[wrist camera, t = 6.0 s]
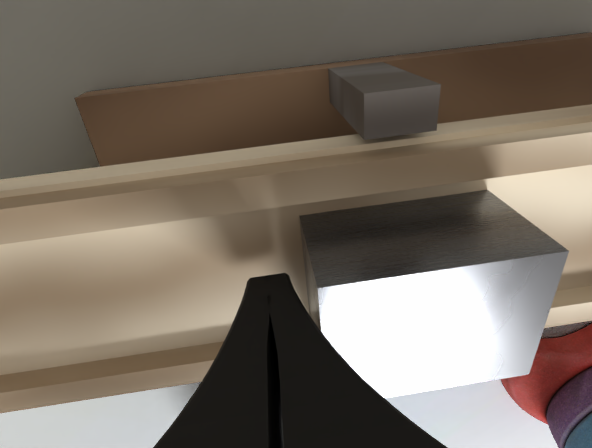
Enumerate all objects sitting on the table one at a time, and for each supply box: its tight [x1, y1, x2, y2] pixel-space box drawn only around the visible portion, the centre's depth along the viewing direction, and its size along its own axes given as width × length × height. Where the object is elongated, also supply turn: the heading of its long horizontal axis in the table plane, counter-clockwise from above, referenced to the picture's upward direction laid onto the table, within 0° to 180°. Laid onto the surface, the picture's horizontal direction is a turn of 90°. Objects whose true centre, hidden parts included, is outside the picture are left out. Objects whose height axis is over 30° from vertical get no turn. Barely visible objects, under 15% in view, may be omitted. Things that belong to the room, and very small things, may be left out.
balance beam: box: [0, 104, 592, 413], centre depth 13 cm, size 8×32×2 cm, turn 95°
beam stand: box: [75, 33, 592, 167], centre depth 15 cm, size 11×20×6 cm, turn 95°
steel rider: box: [299, 190, 569, 398], centre depth 11 cm, size 4×6×4 cm
